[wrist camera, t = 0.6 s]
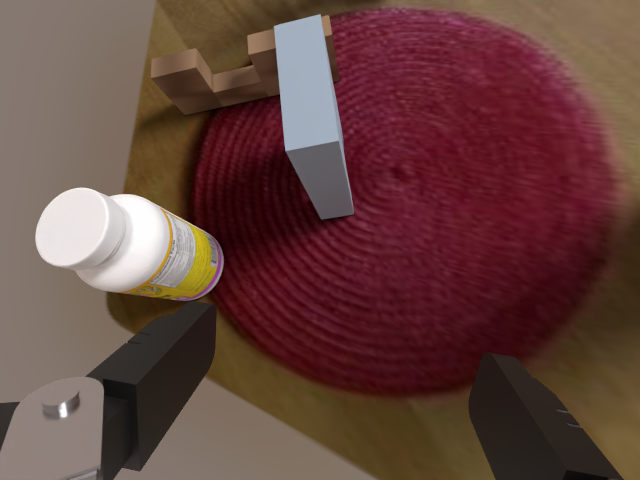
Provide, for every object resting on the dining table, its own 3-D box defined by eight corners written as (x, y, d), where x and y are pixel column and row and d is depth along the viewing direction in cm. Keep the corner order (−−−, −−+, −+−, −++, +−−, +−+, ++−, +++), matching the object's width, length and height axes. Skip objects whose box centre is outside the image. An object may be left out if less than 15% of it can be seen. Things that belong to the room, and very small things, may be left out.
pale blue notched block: (311, 133, 32) (273, 26, 20) (341, 127, 31) (320, 14, 20) (321, 219, 29) (285, 151, 18) (354, 214, 29) (338, 140, 18)
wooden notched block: (336, 63, 33) (328, 15, 28) (339, 81, 33) (332, 34, 28) (184, 98, 36) (151, 59, 31) (184, 115, 35) (150, 78, 30)
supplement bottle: (148, 279, 31) (-3, 247, 19) (187, 220, 32) (68, 153, 20) (200, 315, 29) (70, 307, 17) (240, 252, 30) (145, 201, 18)
